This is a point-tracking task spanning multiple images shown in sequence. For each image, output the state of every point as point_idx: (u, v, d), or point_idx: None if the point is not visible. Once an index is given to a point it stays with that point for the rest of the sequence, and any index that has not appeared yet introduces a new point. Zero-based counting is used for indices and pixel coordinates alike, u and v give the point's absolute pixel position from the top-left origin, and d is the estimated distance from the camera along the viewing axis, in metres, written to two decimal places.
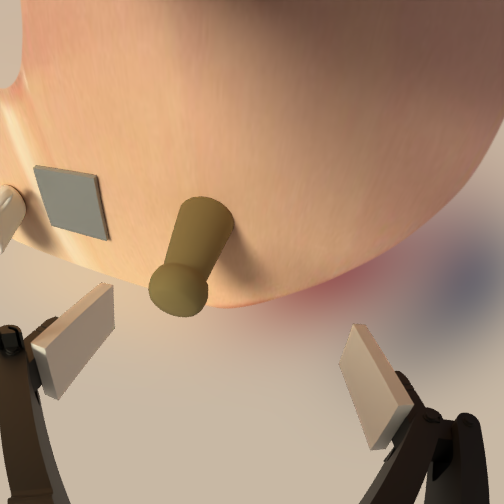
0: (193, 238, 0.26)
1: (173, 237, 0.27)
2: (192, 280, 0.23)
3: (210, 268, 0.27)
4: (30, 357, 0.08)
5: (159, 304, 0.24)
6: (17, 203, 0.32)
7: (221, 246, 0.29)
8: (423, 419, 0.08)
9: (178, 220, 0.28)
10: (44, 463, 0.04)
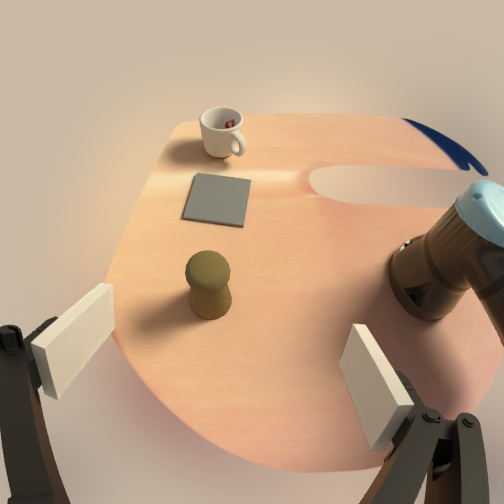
0: (227, 289, 0.38)
1: None
2: (224, 285, 0.34)
3: (209, 298, 0.36)
4: (30, 357, 0.08)
5: (207, 256, 0.34)
6: (224, 153, 0.55)
7: (209, 308, 0.38)
8: (423, 419, 0.08)
9: None
10: (44, 463, 0.04)
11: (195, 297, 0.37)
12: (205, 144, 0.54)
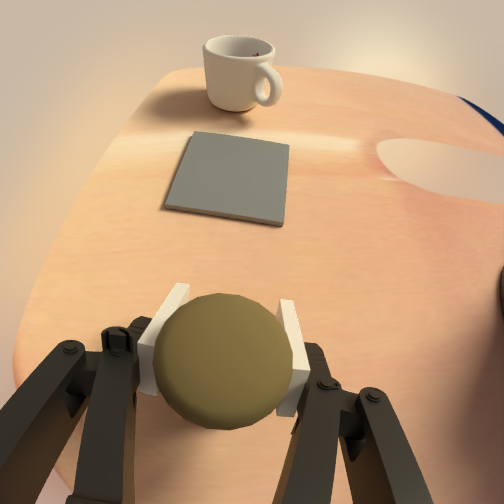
0: None
1: None
2: (278, 402, 0.10)
3: None
4: (134, 357, 0.11)
5: (222, 319, 0.10)
6: (241, 103, 0.31)
7: None
8: (319, 388, 0.10)
9: None
10: (123, 471, 0.05)
11: None
12: (210, 88, 0.30)
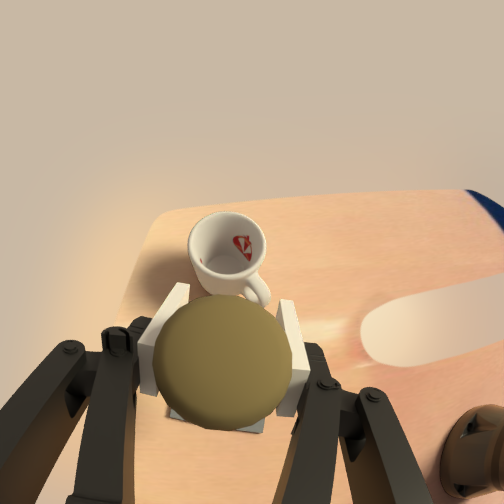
0: None
1: None
2: (278, 403, 0.10)
3: None
4: (134, 357, 0.11)
5: (221, 319, 0.10)
6: (231, 295, 0.34)
7: None
8: (319, 388, 0.10)
9: None
10: (123, 471, 0.05)
11: None
12: (199, 280, 0.33)
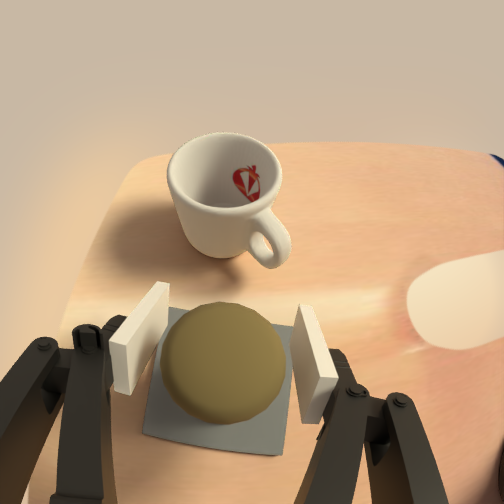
0: None
1: None
2: (273, 400, 0.11)
3: None
4: (106, 355, 0.10)
5: (222, 324, 0.11)
6: (230, 253, 0.24)
7: None
8: (347, 395, 0.09)
9: None
10: (101, 467, 0.05)
11: None
12: (185, 230, 0.23)
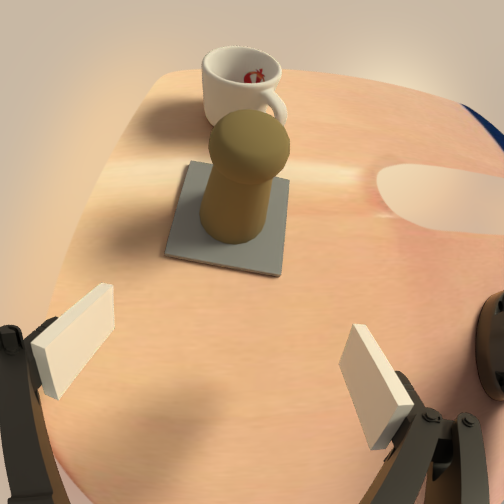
0: None
1: None
2: (282, 166, 0.18)
3: (244, 196, 0.20)
4: (30, 357, 0.08)
5: (252, 114, 0.17)
6: None
7: (239, 220, 0.23)
8: (423, 419, 0.08)
9: None
10: (44, 463, 0.04)
11: (217, 197, 0.21)
12: (208, 108, 0.28)
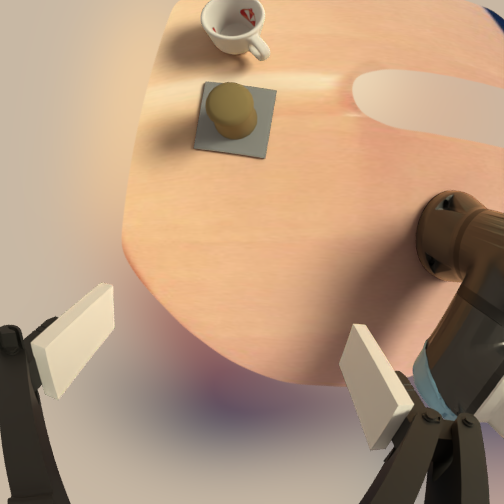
0: (251, 115, 0.33)
1: None
2: (248, 118, 0.30)
3: (232, 127, 0.33)
4: (30, 357, 0.08)
5: (227, 90, 0.27)
6: (240, 52, 0.35)
7: (234, 133, 0.36)
8: (423, 419, 0.08)
9: None
10: (44, 463, 0.04)
11: None
12: (214, 43, 0.33)
